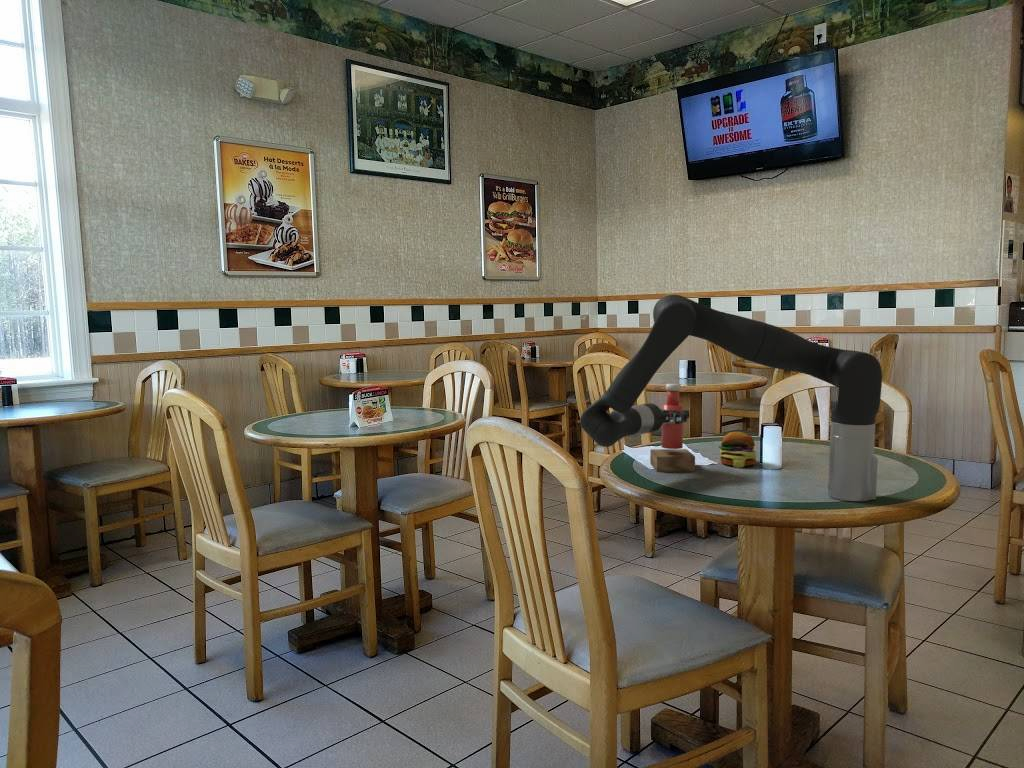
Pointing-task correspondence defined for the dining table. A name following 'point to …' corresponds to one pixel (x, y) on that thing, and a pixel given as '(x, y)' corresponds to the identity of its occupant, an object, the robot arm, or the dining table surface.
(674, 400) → the ketchup bottle
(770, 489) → the dining table surface
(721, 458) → the cheeseburger
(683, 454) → the walnut block
